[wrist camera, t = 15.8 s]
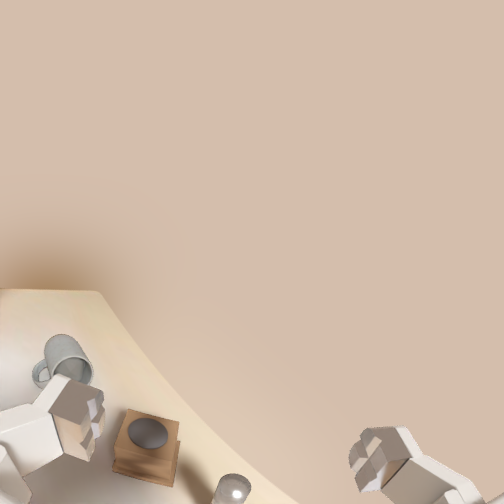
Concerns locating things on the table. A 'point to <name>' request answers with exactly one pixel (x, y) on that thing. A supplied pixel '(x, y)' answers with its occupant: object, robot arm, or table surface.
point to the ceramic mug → (64, 361)
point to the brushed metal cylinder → (232, 490)
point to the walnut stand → (147, 448)
